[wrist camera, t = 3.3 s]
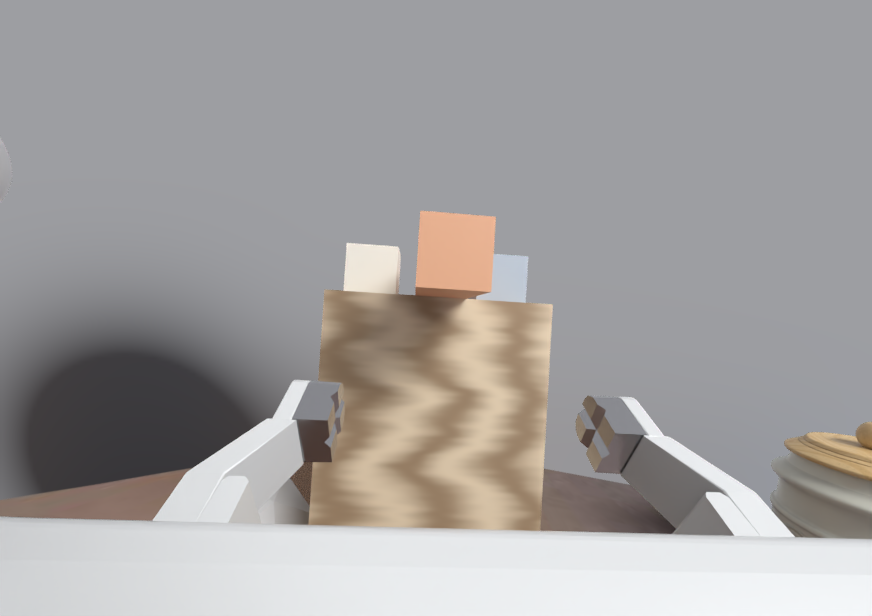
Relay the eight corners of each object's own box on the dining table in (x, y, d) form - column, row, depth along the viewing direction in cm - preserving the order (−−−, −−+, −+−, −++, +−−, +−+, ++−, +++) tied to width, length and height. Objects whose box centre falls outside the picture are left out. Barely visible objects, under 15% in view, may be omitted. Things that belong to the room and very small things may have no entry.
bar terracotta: (415, 286, 17) (420, 210, 17) (415, 301, 38) (417, 267, 38) (491, 291, 17) (495, 216, 17) (449, 303, 38) (451, 269, 38)
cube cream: (343, 294, 31) (346, 242, 32) (353, 296, 36) (356, 252, 37) (395, 297, 32) (398, 246, 32) (397, 299, 37) (400, 255, 37)
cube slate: (476, 302, 32) (479, 252, 32) (468, 304, 37) (470, 260, 37) (525, 306, 33) (528, 256, 33) (510, 307, 38) (513, 263, 38)
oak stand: (301, 633, 25) (324, 289, 25) (339, 525, 37) (354, 297, 37) (534, 633, 26) (552, 304, 26) (495, 528, 38) (508, 307, 39)
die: (292, 532, 36) (239, 466, 35) (345, 518, 33) (288, 443, 32) (230, 619, 29) (160, 539, 28) (289, 614, 25) (211, 521, 24)
